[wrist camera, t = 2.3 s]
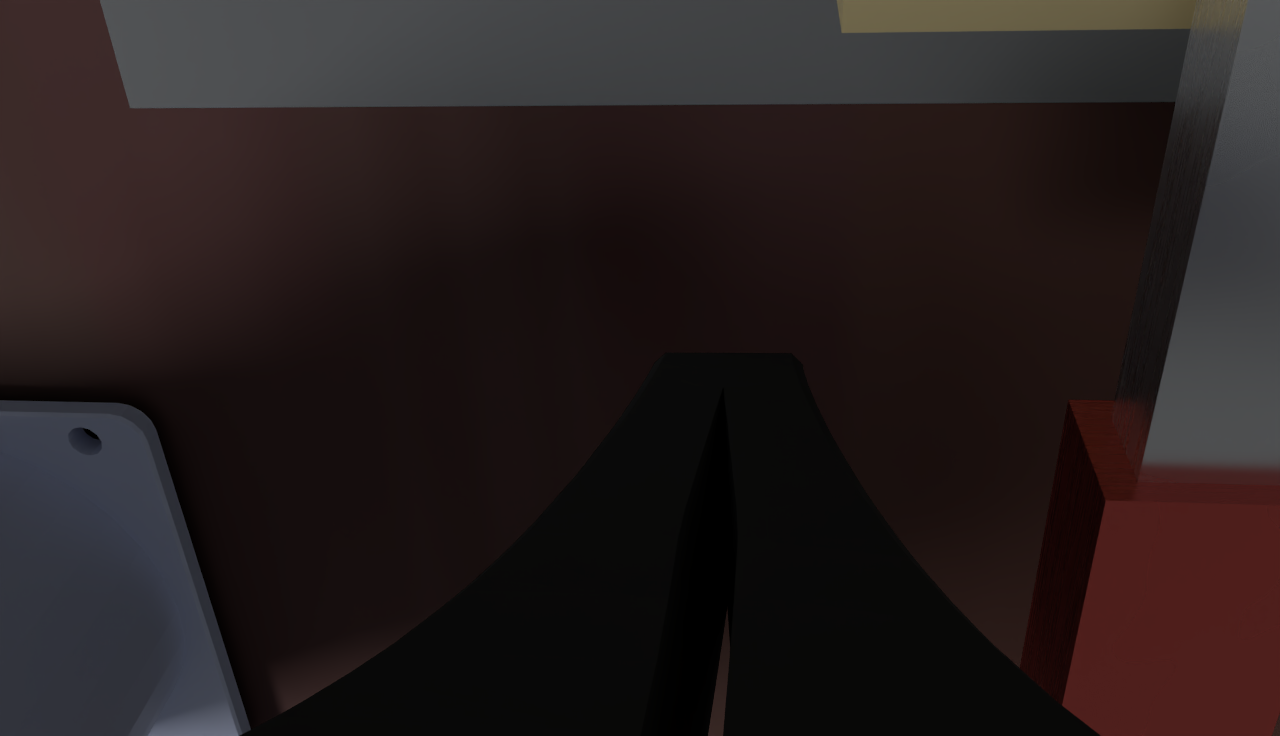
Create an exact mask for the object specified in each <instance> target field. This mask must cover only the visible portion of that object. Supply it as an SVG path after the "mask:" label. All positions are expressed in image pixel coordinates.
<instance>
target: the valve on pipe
mask: <svg viewBox="0 0 1280 736" xmlns="http://www.w3.org/2000/svg"><path fill="white" fill-rule="evenodd" d="M1196 1H1197V0H100V2H101V6H102V9H103V13H104V16H105V20H106V23H107V27H108V31H109V34H110V38H111V41H112V45H113V48H114V52H115V56H116V59H117V63H118V66H119V70H120V73H121V77H122V80H123V84H124V88H125V91H126V95H127V98H128V102H129V105H130V108H246V107H411V106H576V105H741V104H906V103H1070V102H1176V98H1177V93H1178V89H1179V84H1180V79H1181V74H1182V69H1183V64H1184V59H1185V55H1186V50H1187V45H1188V40H1189V35H1190V30H1191V25H1192V21H1193V16H1194V11H1195V6H1196Z"/></svg>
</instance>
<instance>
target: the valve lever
mask: <svg viewBox="0 0 1280 736" xmlns="http://www.w3.org/2000/svg"><path fill="white" fill-rule="evenodd" d="M1020 669H1021V670H1022V671H1023V672H1024V673H1025V674H1027V675H1028V676H1029V677H1030V678H1031V679H1032V680H1033V681H1034V682H1036V683H1037V684H1038V685H1039V686H1040V687H1041V688H1042V689H1043V690H1044V691H1046V692H1047V693H1048V694H1049V695H1050V696H1051V697H1052V698H1053V699H1055V700H1056V701H1057V702H1058V703H1059V704H1061V705H1062V706H1063V707H1065V708H1066V709H1067V710H1069V711H1070V712H1071V713H1072V714H1074V715H1075V716H1076V717H1078V718H1079V719H1080V720H1081V721H1083V722H1084V723H1085V724H1087V725H1088V726H1089V727H1090V728H1092V729H1093V730H1094V731H1096V732H1097V733H1098V734H1100V735H1101V736H1272V733H1273V731H1274V728H1275V725H1276V722H1277V719H1278V716H1279V714H1280V0H1197V1H1196V6H1195V11H1194V16H1193V21H1192V25H1191V30H1190V35H1189V40H1188V45H1187V50H1186V55H1185V59H1184V64H1183V69H1182V74H1181V79H1180V84H1179V89H1178V93H1177V98H1176V103H1175V108H1174V113H1173V118H1172V123H1171V127H1170V132H1169V137H1168V142H1167V147H1166V152H1165V156H1164V161H1163V166H1162V171H1161V176H1160V181H1159V186H1158V190H1157V195H1156V200H1155V205H1154V210H1153V215H1152V220H1151V224H1150V229H1149V234H1148V239H1147V244H1146V249H1145V254H1144V258H1143V263H1142V268H1141V273H1140V278H1139V283H1138V288H1137V292H1136V297H1135V302H1134V307H1133V312H1132V317H1131V322H1130V326H1129V331H1128V336H1127V341H1126V346H1125V351H1124V355H1123V360H1122V365H1121V370H1120V375H1119V380H1118V385H1117V389H1116V394H1115V399H1114V401H1107V400H1068V405H1067V410H1066V416H1065V421H1064V427H1063V432H1062V438H1061V443H1060V449H1059V454H1058V460H1057V465H1056V471H1055V476H1054V482H1053V487H1052V493H1051V498H1050V504H1049V509H1048V515H1047V520H1046V526H1045V532H1044V537H1043V543H1042V548H1041V554H1040V559H1039V565H1038V570H1037V576H1036V581H1035V587H1034V592H1033V598H1032V603H1031V609H1030V614H1029V620H1028V625H1027V631H1026V636H1025V642H1024V647H1023V653H1022V658H1021V664H1020Z"/></svg>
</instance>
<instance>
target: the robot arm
mask: <svg viewBox="0 0 1280 736" xmlns="http://www.w3.org/2000/svg"><path fill="white" fill-rule="evenodd" d="M83 428H85V429H89V430H90V431H92V432H93V433H95V434H96V435H97V436H98V437H99V439H100V440H97V439H94V438H92V437H91V436H89V435H88V434H86V433H85V431H84V430H83ZM727 606H728V621H729V636H730V660H729V673H728V685H727V696H726V708H725V720H724V732H723V736H1101V735H1100V734H1098V733H1097V732H1096V731H1094V730H1093V729H1092V728H1090V727H1089V726H1088V725H1087V724H1085V723H1084V722H1083V721H1081V720H1080V719H1079V718H1078V717H1076V716H1075V715H1074V714H1072V713H1071V712H1070V711H1069V710H1067V709H1066V708H1065V707H1063V706H1062V705H1061V704H1059V703H1058V702H1057V701H1056V700H1055V699H1053V698H1052V697H1051V696H1050V695H1049V694H1048V693H1047V692H1046V691H1044V690H1043V689H1042V688H1041V687H1040V686H1039V685H1038V684H1037V683H1036V682H1034V681H1033V680H1032V679H1031V678H1030V677H1029V676H1028V675H1027V674H1025V673H1024V672H1023V671H1022V670H1021V669H1020V668H1019V667H1018V666H1016V665H1015V664H1014V663H1013V662H1012V661H1011V660H1010V659H1009V658H1008V657H1006V656H1005V655H1004V654H1003V653H1002V652H1001V651H1000V650H999V649H997V648H996V647H995V646H994V645H993V644H992V643H991V642H990V641H989V640H988V639H987V638H986V637H985V636H984V635H983V634H982V633H981V632H980V631H979V630H978V629H977V628H976V627H975V626H974V625H973V624H972V623H971V622H970V620H969V619H968V618H967V617H966V616H965V615H964V614H963V613H962V612H961V611H960V610H959V609H958V608H957V607H956V606H955V605H954V604H953V603H952V602H951V601H950V599H949V598H948V597H947V596H946V595H945V594H944V593H943V592H942V590H941V589H940V588H939V587H938V586H937V585H936V584H935V582H934V581H933V580H932V579H931V578H930V577H929V576H928V575H927V573H926V572H925V571H924V570H923V569H922V567H921V566H920V565H919V564H918V562H917V561H916V560H915V559H914V558H913V556H912V555H911V554H910V553H909V551H908V550H907V549H906V547H905V546H904V545H903V544H902V542H901V541H900V540H899V538H898V537H897V536H896V534H895V533H894V532H893V530H892V529H891V527H890V526H889V525H888V523H887V522H886V520H885V519H884V518H883V516H882V515H881V514H880V512H879V511H878V509H877V508H876V507H875V505H874V504H873V502H872V501H871V499H870V498H869V496H868V495H867V493H866V492H865V490H864V489H863V487H862V486H861V484H860V482H859V481H858V479H857V477H856V476H855V474H854V472H853V471H852V469H851V467H850V466H849V464H848V463H847V461H846V459H845V458H844V456H843V454H842V453H841V451H840V449H839V448H838V446H837V444H836V442H835V440H834V439H833V437H832V435H831V433H830V431H829V429H828V427H827V425H826V423H825V421H824V419H823V417H822V415H821V413H820V411H819V409H818V407H817V405H816V403H815V400H814V398H813V396H812V393H811V391H810V388H809V386H808V383H807V380H806V377H805V374H804V370H803V364H802V363H801V362H800V361H799V360H798V359H797V358H796V357H794V356H793V355H792V354H791V353H665V354H664V355H663V356H662V357H661V358H659V359H658V360H657V361H656V362H655V363H654V365H653V367H652V369H651V370H650V372H649V374H648V376H647V377H646V379H645V381H644V382H643V384H642V386H641V387H640V389H639V390H638V392H637V393H636V395H635V397H634V398H633V400H632V401H631V403H630V404H629V406H628V407H627V408H626V410H625V411H624V413H623V414H622V416H621V417H620V418H619V420H618V421H617V423H616V424H615V426H614V427H613V428H612V430H611V431H610V432H609V434H608V435H607V436H606V437H605V439H604V440H603V441H602V443H601V444H600V445H599V447H598V448H597V449H596V451H595V452H594V453H593V454H592V456H591V457H590V458H589V460H588V461H587V462H586V464H585V465H584V466H583V467H582V469H581V470H580V471H579V472H578V474H577V475H576V476H575V477H574V478H573V479H572V481H571V482H570V483H569V484H568V485H567V486H566V487H565V488H564V490H563V491H562V492H561V493H560V494H559V495H558V496H557V497H556V499H555V500H554V501H553V502H552V503H551V504H550V505H549V506H548V508H547V509H546V510H545V511H544V512H543V513H542V514H541V515H540V517H539V518H538V519H537V520H536V521H535V522H534V523H533V524H532V525H531V526H530V527H529V528H528V529H527V530H526V531H525V533H524V534H523V535H522V536H521V537H520V538H519V539H518V540H517V541H516V542H515V543H514V544H513V545H512V546H511V547H510V548H509V549H507V550H506V551H505V552H504V553H503V554H502V555H501V556H500V557H499V558H498V559H497V560H496V561H495V562H494V563H493V564H492V565H490V566H489V567H488V568H487V569H486V570H485V571H484V572H483V573H482V574H481V575H479V576H478V577H477V578H476V579H475V580H474V581H473V582H472V583H471V584H469V585H468V586H467V587H466V588H465V589H464V590H462V591H461V592H460V593H459V594H457V595H456V596H455V597H454V598H452V599H451V600H450V601H449V602H447V603H446V604H445V605H444V606H443V607H441V608H440V609H439V610H437V611H436V612H435V613H433V614H432V615H431V616H430V617H428V618H427V619H426V620H424V621H423V622H422V623H420V624H419V625H418V626H416V627H415V628H414V629H412V630H411V631H410V632H409V633H407V634H406V635H405V636H403V637H402V638H401V639H399V640H398V641H397V642H395V643H394V644H392V645H391V646H389V647H388V648H387V649H385V650H384V651H382V652H381V653H379V654H378V655H376V656H375V657H373V658H371V659H370V660H368V661H367V662H365V663H364V664H362V665H361V666H359V667H358V668H356V669H355V670H353V671H352V672H350V673H349V674H347V675H345V676H344V677H342V678H341V679H339V680H337V681H336V682H334V683H332V684H331V685H329V686H327V687H326V688H324V689H323V690H321V691H319V692H318V693H316V694H314V695H313V696H311V697H309V698H308V699H306V700H304V701H303V702H301V703H299V704H297V705H296V706H294V707H292V708H290V709H289V710H287V711H285V712H283V713H282V714H280V715H278V716H276V717H274V718H273V719H271V720H269V721H267V722H265V723H263V724H261V725H259V726H257V727H255V728H253V729H251V728H250V725H249V722H248V719H247V715H246V712H245V709H244V706H243V703H242V700H241V696H240V693H239V690H238V687H237V684H236V681H235V677H234V674H233V671H232V668H231V665H230V662H229V658H228V655H227V652H226V649H225V646H224V643H223V639H222V636H221V633H220V630H219V627H218V624H217V620H216V617H215V614H214V611H213V608H212V605H211V601H210V598H209V595H208V592H207V589H206V586H205V583H204V579H203V576H202V573H201V570H200V567H199V564H198V560H197V557H196V554H195V551H194V548H193V545H192V541H191V538H190V535H189V532H188V529H187V526H186V522H185V519H184V516H183V513H182V510H181V507H180V503H179V500H178V497H177V494H176V491H175V488H174V484H173V481H172V478H171V475H170V472H169V469H168V465H167V462H166V459H165V456H164V453H163V450H162V446H161V443H160V440H159V437H158V434H157V431H156V428H155V427H154V425H153V423H152V421H151V420H150V419H149V418H148V417H147V416H146V415H145V414H144V413H143V412H142V411H140V410H138V409H136V408H134V407H132V406H130V405H126V404H121V403H100V402H54V401H8V400H0V736H708V731H709V725H710V718H711V712H712V705H713V699H714V692H715V686H716V679H717V673H718V666H719V659H720V653H721V646H722V639H723V633H724V626H725V619H726V612H727Z"/></svg>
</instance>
